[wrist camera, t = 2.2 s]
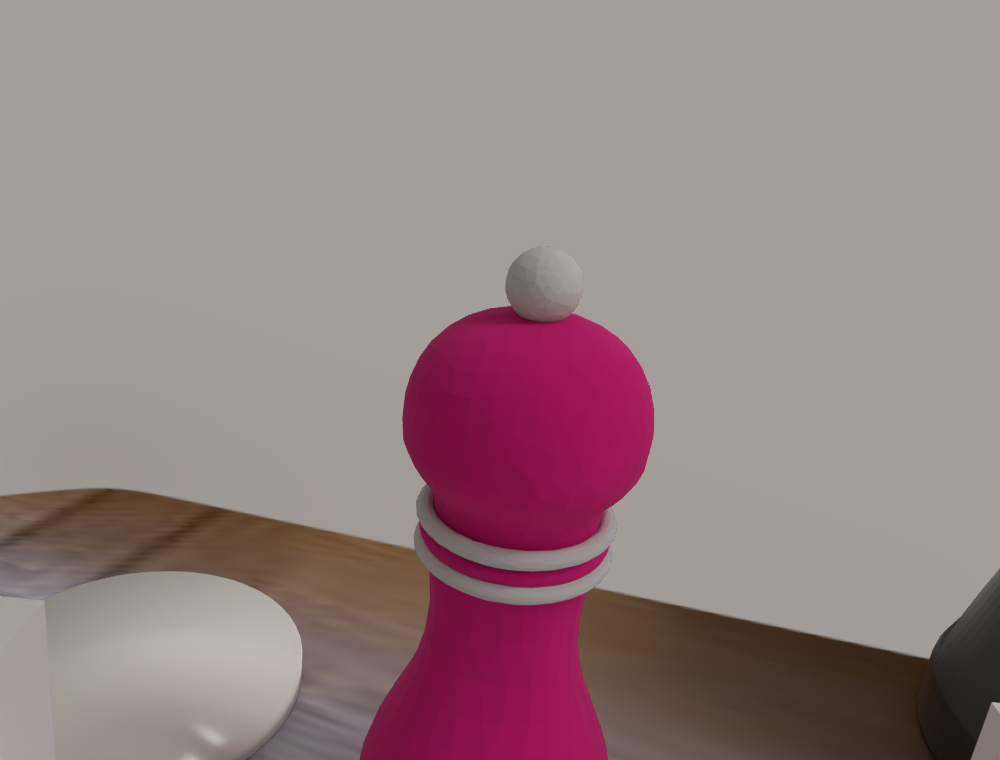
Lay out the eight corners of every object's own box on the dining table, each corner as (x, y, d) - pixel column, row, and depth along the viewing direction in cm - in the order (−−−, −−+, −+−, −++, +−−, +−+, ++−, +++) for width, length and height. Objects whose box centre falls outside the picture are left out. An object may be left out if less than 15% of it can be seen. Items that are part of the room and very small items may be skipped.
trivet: (329, 605, 41) (329, 585, 40) (255, 823, 29) (255, 799, 29) (57, 578, 40) (55, 558, 40) (-122, 787, 29) (-126, 763, 29)
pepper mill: (382, 787, 31) (424, 202, 24) (593, 826, 31) (699, 236, 24) (315, 991, 25) (345, 262, 18) (583, 1045, 24) (727, 312, 17)
